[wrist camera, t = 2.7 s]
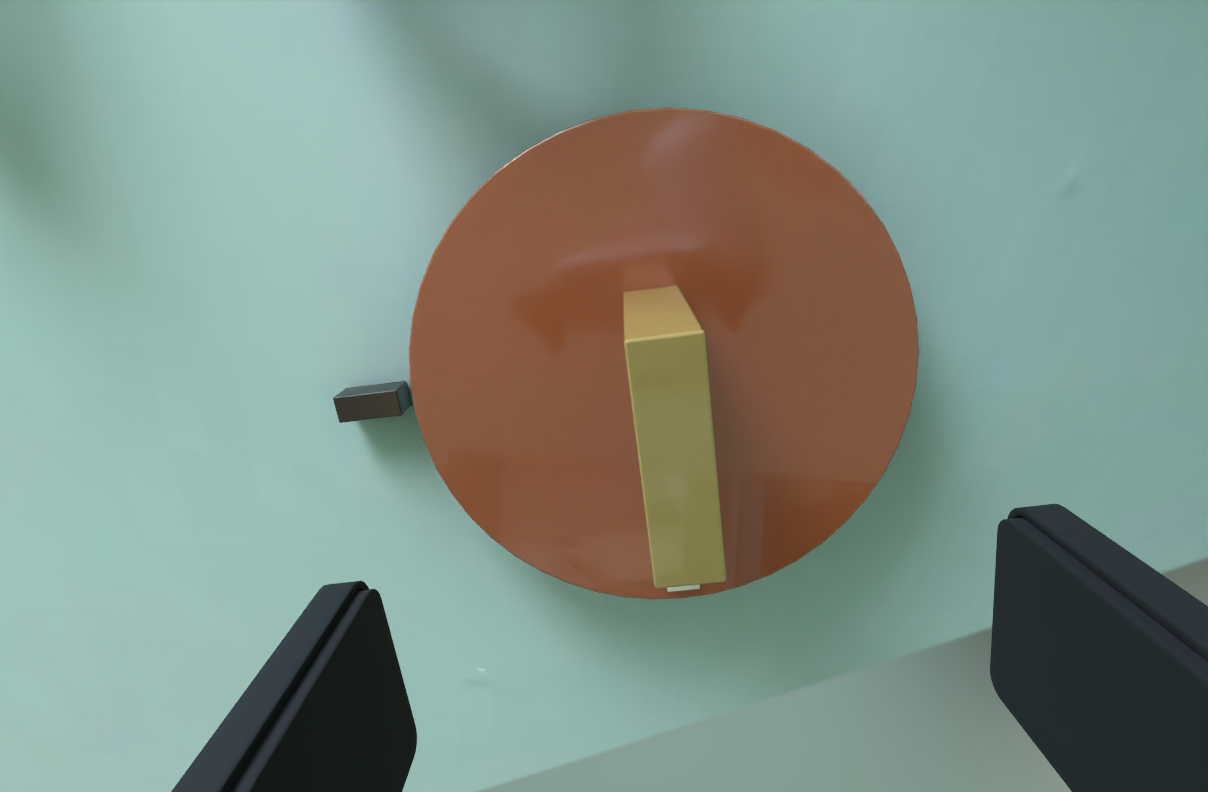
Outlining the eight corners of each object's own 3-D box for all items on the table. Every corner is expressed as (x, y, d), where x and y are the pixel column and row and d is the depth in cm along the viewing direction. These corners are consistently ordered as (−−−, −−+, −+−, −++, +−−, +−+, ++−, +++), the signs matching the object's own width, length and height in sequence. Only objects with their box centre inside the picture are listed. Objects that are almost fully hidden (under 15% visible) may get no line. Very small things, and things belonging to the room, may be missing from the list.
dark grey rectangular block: (785, 206, 23) (797, 208, 21) (797, 470, 26) (808, 488, 24) (314, 270, 24) (293, 275, 22) (379, 515, 27) (364, 536, 25)
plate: (913, 71, 19) (1090, 1, 12) (908, 565, 25) (1031, 727, 17) (361, 151, 20) (218, 132, 13) (466, 609, 26) (405, 778, 18)
